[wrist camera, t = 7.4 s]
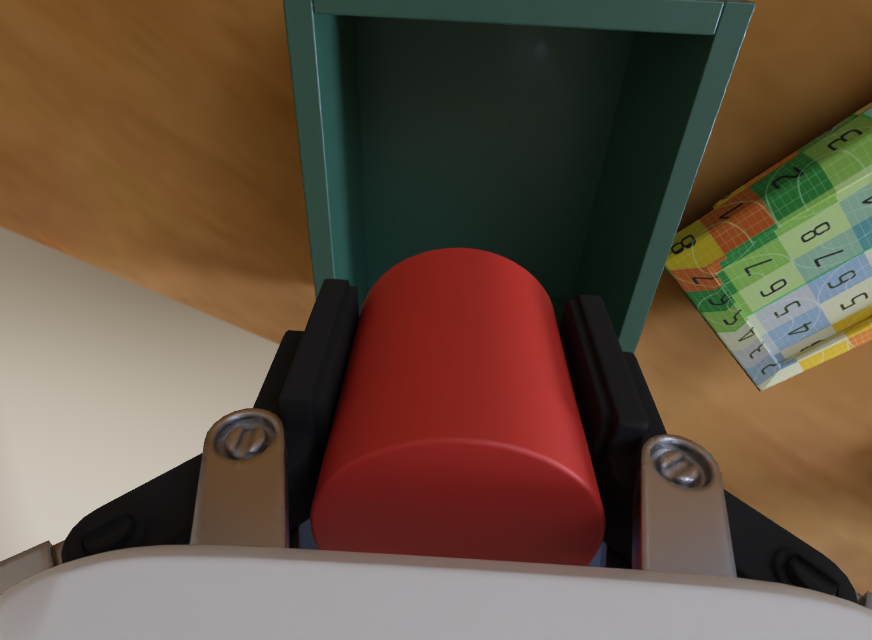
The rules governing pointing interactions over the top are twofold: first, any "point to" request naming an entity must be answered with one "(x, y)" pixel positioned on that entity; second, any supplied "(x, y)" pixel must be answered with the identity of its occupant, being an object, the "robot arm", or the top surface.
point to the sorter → (508, 134)
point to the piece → (458, 422)
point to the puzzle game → (788, 257)
